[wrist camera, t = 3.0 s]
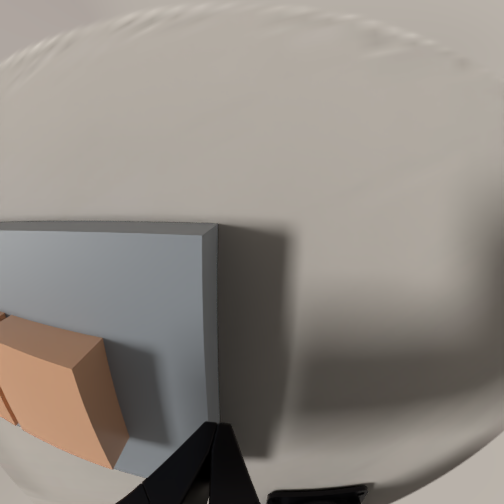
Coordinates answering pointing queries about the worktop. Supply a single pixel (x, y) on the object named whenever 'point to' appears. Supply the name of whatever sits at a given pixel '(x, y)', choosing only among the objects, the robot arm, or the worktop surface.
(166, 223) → the slate board
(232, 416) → the worktop surface
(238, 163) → the worktop surface
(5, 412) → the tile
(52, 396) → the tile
